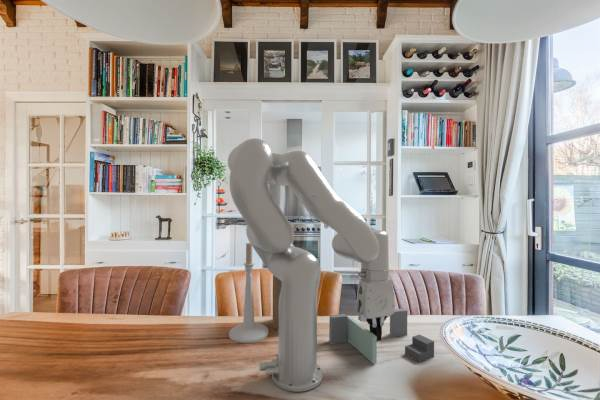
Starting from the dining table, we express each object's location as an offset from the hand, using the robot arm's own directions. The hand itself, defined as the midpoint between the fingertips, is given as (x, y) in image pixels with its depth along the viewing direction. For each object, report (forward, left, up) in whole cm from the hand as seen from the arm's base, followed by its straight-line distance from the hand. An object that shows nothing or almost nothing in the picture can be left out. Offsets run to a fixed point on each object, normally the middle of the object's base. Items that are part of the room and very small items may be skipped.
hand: (375, 338), depth 85 cm
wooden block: (-20, +26, -5) cm, 33 cm away
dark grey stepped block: (+12, -3, -5) cm, 13 cm away
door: (-3, +4, -4) cm, 6 cm away
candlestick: (-34, +22, -5) cm, 41 cm away
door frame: (+3, +10, -5) cm, 12 cm away
